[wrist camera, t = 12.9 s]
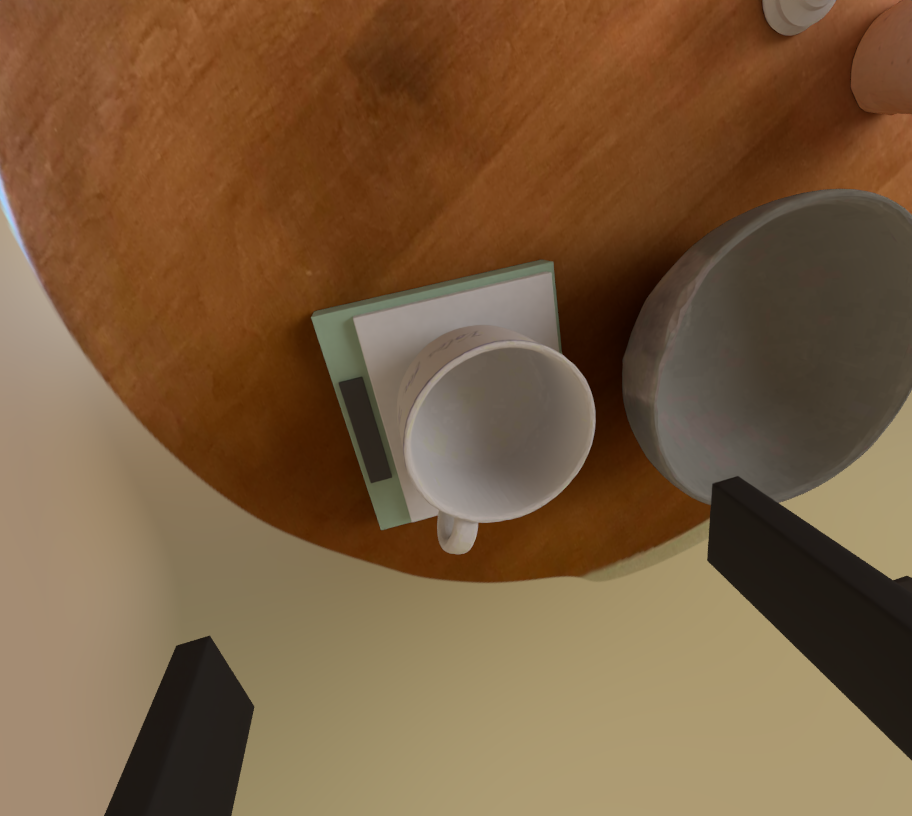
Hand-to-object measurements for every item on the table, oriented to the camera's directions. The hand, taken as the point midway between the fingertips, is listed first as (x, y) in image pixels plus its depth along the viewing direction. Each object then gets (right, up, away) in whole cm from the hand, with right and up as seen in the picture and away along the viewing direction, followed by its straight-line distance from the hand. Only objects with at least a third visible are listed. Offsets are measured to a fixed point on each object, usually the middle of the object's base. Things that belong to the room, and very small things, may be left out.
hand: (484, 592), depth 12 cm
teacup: (0, +5, +20) cm, 20 cm away
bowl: (+18, +11, +24) cm, 32 cm away
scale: (-1, +6, +22) cm, 23 cm away
